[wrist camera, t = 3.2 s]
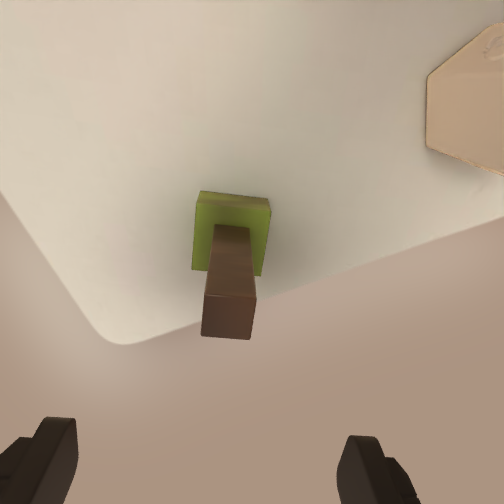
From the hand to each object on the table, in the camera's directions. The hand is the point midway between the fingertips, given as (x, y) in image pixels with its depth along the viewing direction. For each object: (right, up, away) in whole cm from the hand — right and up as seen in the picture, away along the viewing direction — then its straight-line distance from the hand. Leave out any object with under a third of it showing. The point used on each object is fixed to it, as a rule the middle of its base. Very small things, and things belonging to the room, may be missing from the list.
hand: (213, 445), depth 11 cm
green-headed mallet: (-1, +8, +17) cm, 19 cm away
